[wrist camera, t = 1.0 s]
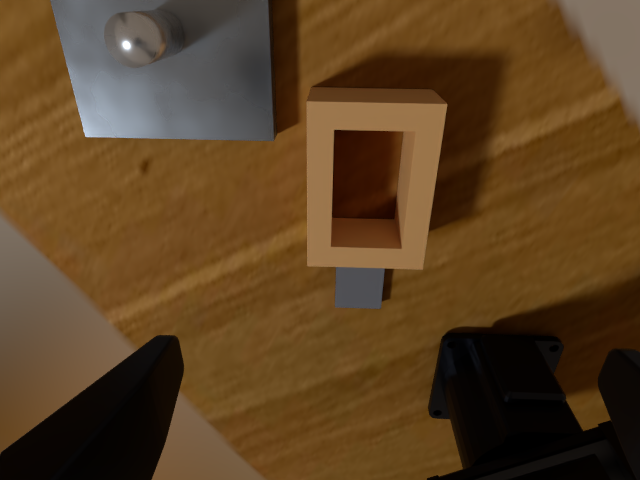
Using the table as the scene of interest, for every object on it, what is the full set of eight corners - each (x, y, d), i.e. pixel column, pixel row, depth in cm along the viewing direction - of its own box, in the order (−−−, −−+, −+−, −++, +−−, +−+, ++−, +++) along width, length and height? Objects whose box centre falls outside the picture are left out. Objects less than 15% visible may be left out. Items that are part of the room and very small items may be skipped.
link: (413, 238, 21) (422, 269, 19) (310, 235, 21) (307, 266, 19) (432, 89, 18) (447, 104, 15) (311, 87, 18) (306, 101, 16)
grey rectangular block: (380, 302, 23) (380, 308, 23) (335, 301, 23) (335, 307, 23) (386, 237, 21) (387, 242, 21) (337, 236, 21) (337, 241, 21)
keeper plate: (277, 134, 19) (262, 165, 16) (96, 130, 19) (43, 160, 16) (268, -94, 15) (246, -121, 12) (42, -96, 15) (-46, -123, 12)
